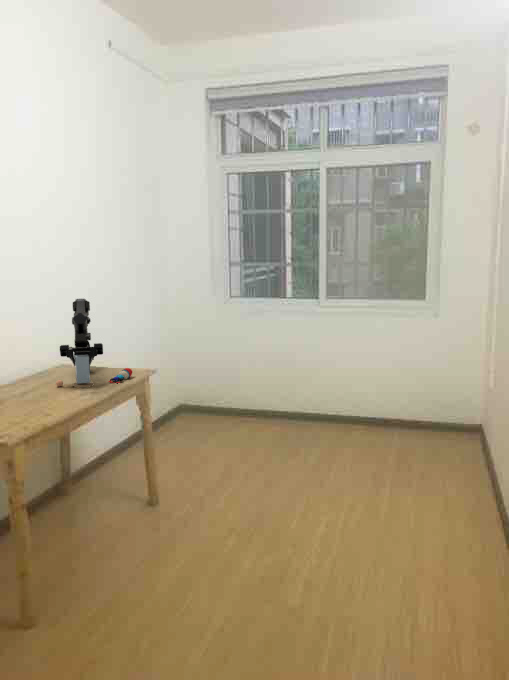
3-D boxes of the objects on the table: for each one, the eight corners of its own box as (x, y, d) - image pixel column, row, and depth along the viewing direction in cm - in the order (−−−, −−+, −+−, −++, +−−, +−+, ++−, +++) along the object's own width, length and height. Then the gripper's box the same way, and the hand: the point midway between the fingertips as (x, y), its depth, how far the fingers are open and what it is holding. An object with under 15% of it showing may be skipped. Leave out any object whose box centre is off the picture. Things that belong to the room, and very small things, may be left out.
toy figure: (120, 387, 253) (138, 375, 266) (118, 377, 252) (135, 365, 265) (106, 387, 256) (124, 375, 269) (104, 377, 255) (122, 365, 268)
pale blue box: (76, 381, 252) (74, 355, 250) (88, 380, 254) (87, 354, 252) (77, 383, 247) (75, 357, 245) (90, 382, 250) (88, 356, 247)
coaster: (76, 382, 255) (75, 381, 255) (95, 382, 255) (95, 381, 255) (70, 387, 246) (70, 386, 246) (91, 387, 247) (91, 386, 246)
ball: (57, 385, 250) (56, 379, 249) (64, 385, 250) (63, 379, 249) (55, 387, 247) (54, 381, 246) (62, 387, 247) (61, 380, 246)
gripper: (58, 327, 248) (58, 356, 239) (101, 325, 253) (103, 354, 244) (60, 341, 256) (60, 370, 248) (102, 340, 261) (103, 367, 253)
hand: (82, 365), depth 248 cm, fingers open, 6 cm apart
